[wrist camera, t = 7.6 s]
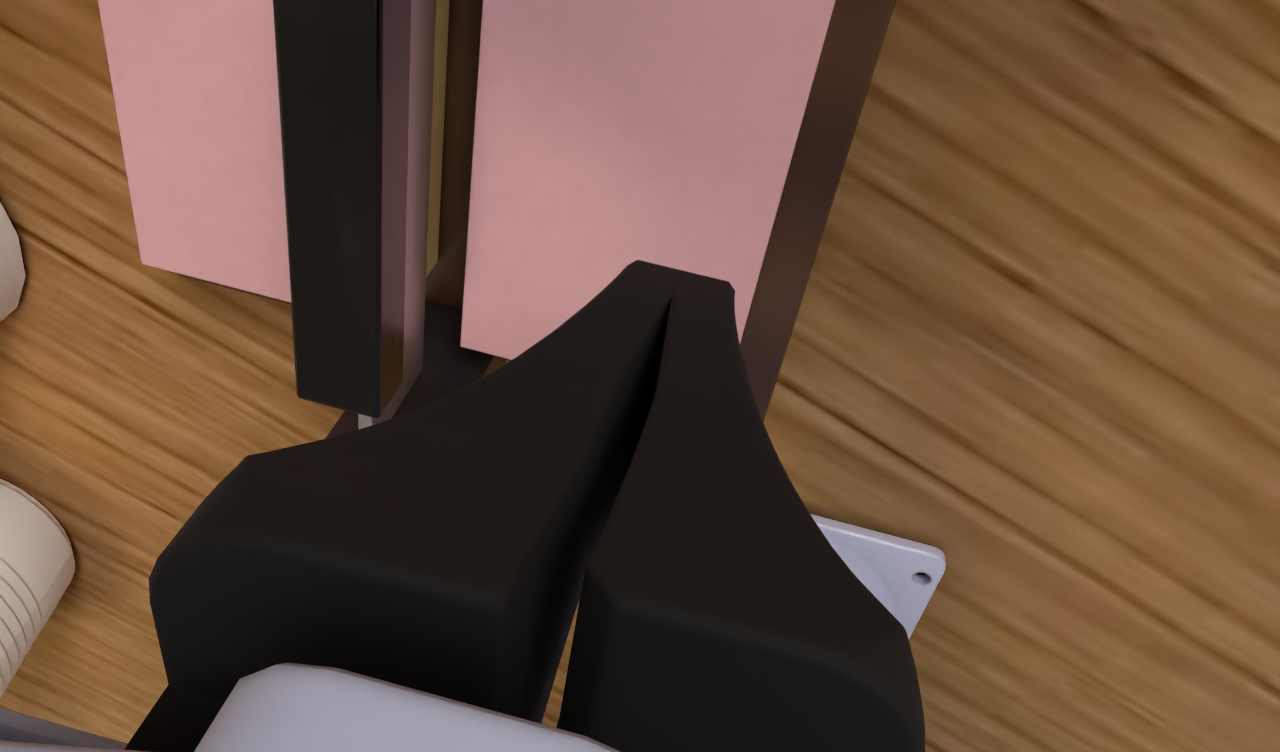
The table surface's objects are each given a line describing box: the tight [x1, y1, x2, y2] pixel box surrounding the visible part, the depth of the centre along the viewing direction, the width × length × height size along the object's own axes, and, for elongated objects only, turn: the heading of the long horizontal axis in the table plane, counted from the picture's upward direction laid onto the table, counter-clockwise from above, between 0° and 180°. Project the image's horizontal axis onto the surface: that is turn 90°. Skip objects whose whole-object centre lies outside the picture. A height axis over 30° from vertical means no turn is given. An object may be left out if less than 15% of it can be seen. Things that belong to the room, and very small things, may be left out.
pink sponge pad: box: [98, 0, 836, 360], centre depth 20 cm, size 13×14×3 cm
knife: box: [273, 0, 436, 429], centre depth 17 cm, size 14×2×4 cm, turn 171°
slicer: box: [178, 0, 896, 439], centre depth 19 cm, size 18×16×7 cm
